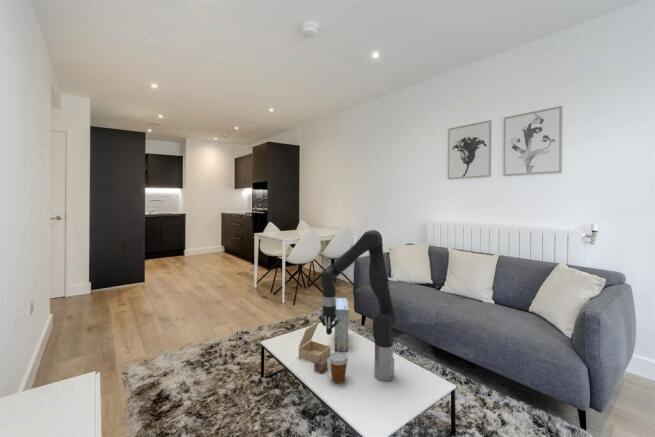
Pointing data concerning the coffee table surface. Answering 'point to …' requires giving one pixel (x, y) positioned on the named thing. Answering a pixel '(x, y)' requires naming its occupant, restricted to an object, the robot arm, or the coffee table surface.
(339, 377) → the disposable coffee cup
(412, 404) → the coffee table surface
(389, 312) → the robot arm
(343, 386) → the coffee table surface
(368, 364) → the coffee table surface
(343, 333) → the snack box
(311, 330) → the mailer lid
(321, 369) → the walnut block
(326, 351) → the base
